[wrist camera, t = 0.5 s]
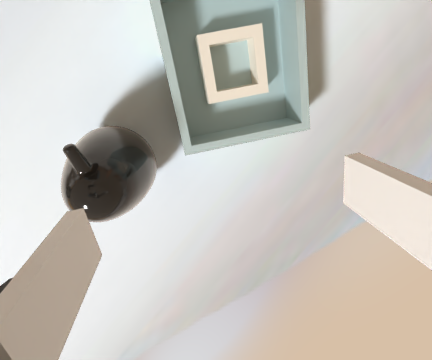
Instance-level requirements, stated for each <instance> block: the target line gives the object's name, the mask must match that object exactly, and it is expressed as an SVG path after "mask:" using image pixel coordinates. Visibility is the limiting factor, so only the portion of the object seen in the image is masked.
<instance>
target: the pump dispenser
mask: <svg viewBox="0 0 432 360" xmlns="http://www.w3.org/2000/svg"><path fill="white" fill-rule="evenodd" d="M63 152H64V153H65V155H66V157H67V159H66V162H65V165H64V168H63V172H62V178H61V193H62V197H63V200H64V203H65V205H66V206H67V208H68V209H69V210H70V211H72V210H77V209H82V208H84V211H85V213H86V216H87V218H88V221H89V222H105V221H109V220H113V219H115V218H118V217H120V216H122V215H124V214H126V213H127V212H129V211H130V210H132V209H133V208H134V207H135V206H137V205H138V204H139V203H140V202H141V201H142V200H143V198H144V197H145V196H146V194H147V193H148V192H149V190H150V188H151V187H152V185H153V182H154V180H155V176H156V171H157V164H156V158H155V155H154V152H153V150H152V148H151V147H150V145H149V144H148V143H147V142H146V140H145V139H143V138H142V137H141V136H140V135H138V134H137V133H135V132H134V131H132V130H129V129H127V128H123V127H118V126H105V127H100V128H97V129H95V130H92V131H90V132H89V133H87V134H86V135H84V136H83V137H82V138H81V139H80V140H79V141H78V142H77V143H76V145H74V144H68V145H66V146H65V147H64V148H63Z"/></svg>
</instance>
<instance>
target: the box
mask: <svg viewBox="0 0 432 360" xmlns="http://www.w3.org/2000/svg"><path fill="white" fill-rule="evenodd" d="M150 4H151V9H152V13H153V17H154V22H155V26H156V30H157V35H158V39H159V43H160V48H161V52H162V56H163V61H164V65H165V69H166V74H167V78H168V83H169V87H170V91H171V96H172V100H173V104H174V109H175V113H176V117H177V122H178V126H179V130H180V135H181V139H182V143H183V148H184V152H185V155H190V154H195V153H199V152H204V151H209V150H214V149H219V148H223V147H228V146H233V145H238V144H242V143H247V142H252V141H257V140H262V139H266V138H271V137H276V136H281V135H285V134H290V133H295V132H300V131H304V130H309V129H310V116H309V92H308V68H307V44H306V20H305V0H150Z"/></svg>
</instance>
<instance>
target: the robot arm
mask: <svg viewBox="0 0 432 360" xmlns="http://www.w3.org/2000/svg"><path fill="white" fill-rule="evenodd" d="M343 203H344V204H345V205H346V206H348V207H349V208H350V209H352V210H353V211H354V212H356V213H357V214H358V215H359V216H361V217H362V218H363V219H365V220H366V221H367V222H369V223H370V224H372V225H373V226H374V227H375V228H377V229H378V230H379V231H381V232H382V233H383V234H385V235H386V236H387V237H388V238H390V239H391V240H393V241H394V242H395V243H396V244H398V245H399V246H400V247H402V248H403V249H405V250H406V251H407V252H408V253H410V254H411V255H412V256H414V257H415V258H416V259H417V260H419V261H420V262H422V263H423V264H424V265H425V266H427V267H428V268H429V269H431V270H432V183H430V182H428V181H425V180H423V179H421V178H418V177H416V176H413V175H411V174H409V173H406V172H404V171H401V170H399V169H397V168H394V167H392V166H389V165H387V164H385V163H382V162H380V161H377V160H375V159H373V158H370V157H368V156H365V155H363V154H361V153H355V154H350V155H345V162H344V195H343ZM101 256H102V253H101V251H100V248H99V246H98V243H97V241H96V238H95V236H94V233H93V231H92V228H91V226H90V223H89V221H88V218H87V216H86V213H85V211H84V208H82V209H77V210H72V211H67V212H66V213H65V215H64V216H63V217H62V218H61V220H60V221H59V222H58V223H57V225H56V226H55V227H54V228H53V229H52V231H51V232H50V233H49V234H48V236H47V237H46V238H45V239H44V240H43V242H42V243H41V244H40V245H39V247H38V248H37V249H36V250H35V252H34V253H33V254H32V255H31V256H30V258H29V259H28V260H27V261H26V263H25V264H24V265H23V266H22V268H21V269H20V270H19V271H18V272H17V274H16V275H15V276H14V277H13V278H11V279H9V280H8V281H6V282H5V283H4V284H2V285H1V286H0V360H58V359H59V357H60V354H61V352H62V350H63V347H64V345H65V342H66V340H67V338H68V335H69V333H70V330H71V328H72V326H73V323H74V321H75V318H76V316H77V314H78V311H79V309H80V307H81V304H82V302H83V299H84V297H85V295H86V292H87V290H88V287H89V285H90V283H91V280H92V278H93V275H94V273H95V271H96V268H97V266H98V264H99V261H100V259H101Z"/></svg>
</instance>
